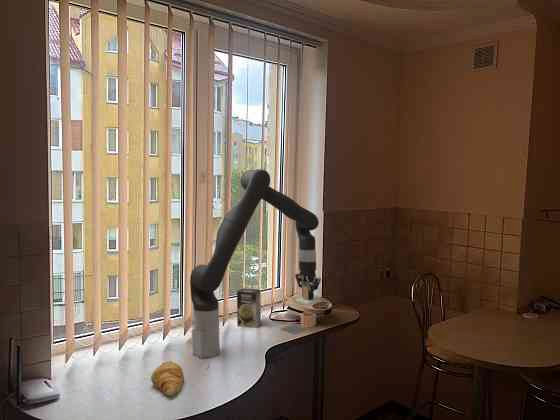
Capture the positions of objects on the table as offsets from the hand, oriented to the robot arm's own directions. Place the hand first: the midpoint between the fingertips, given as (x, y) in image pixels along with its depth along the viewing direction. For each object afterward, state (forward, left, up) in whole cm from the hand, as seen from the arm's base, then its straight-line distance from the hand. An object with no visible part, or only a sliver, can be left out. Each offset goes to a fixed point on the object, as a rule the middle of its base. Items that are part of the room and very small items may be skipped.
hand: (308, 298), depth 204 cm
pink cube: (0, 0, -12) cm, 12 cm away
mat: (-9, 0, -12) cm, 15 cm away
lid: (0, 0, -1) cm, 1 cm away
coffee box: (-19, +18, -13) cm, 29 cm away
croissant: (-72, -6, -13) cm, 74 cm away
